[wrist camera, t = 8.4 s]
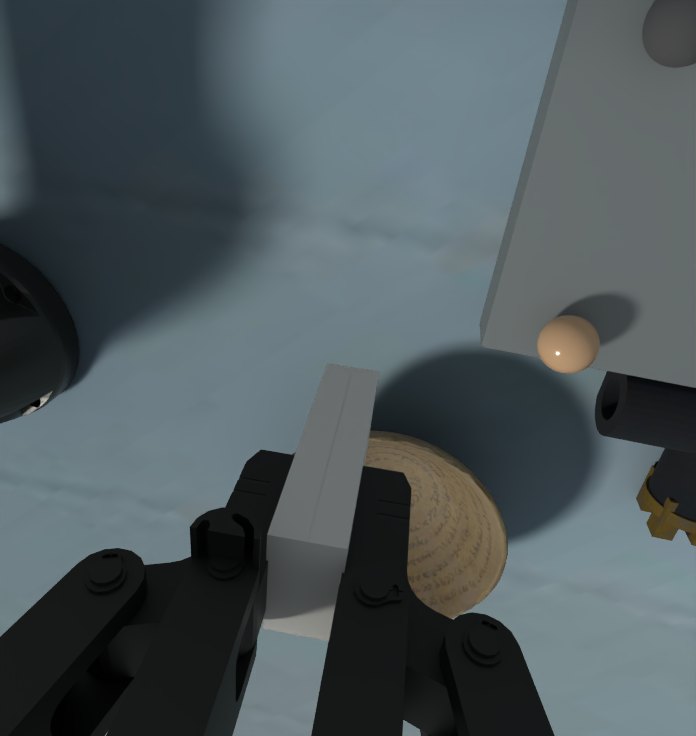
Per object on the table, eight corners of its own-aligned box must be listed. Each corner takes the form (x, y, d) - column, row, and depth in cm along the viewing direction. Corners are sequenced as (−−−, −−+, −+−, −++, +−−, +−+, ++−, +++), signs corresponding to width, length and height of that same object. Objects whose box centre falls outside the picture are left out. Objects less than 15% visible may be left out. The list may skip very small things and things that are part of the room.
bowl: (544, 514, 45) (559, 596, 38) (361, 580, 53) (347, 659, 46) (421, 338, 40) (412, 397, 33) (236, 440, 47) (198, 506, 40)
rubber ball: (622, 61, 27) (642, 62, 24) (650, -24, 25) (675, -35, 22) (695, 72, 27) (724, 73, 24) (728, -14, 25) (763, -23, 22)
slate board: (479, 324, 38) (481, 346, 35) (575, -30, 28) (589, -40, 25) (768, 378, 37) (795, 407, 34) (979, 23, 27) (1045, 18, 24)
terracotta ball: (527, 350, 35) (533, 377, 32) (543, 301, 33) (551, 324, 30) (582, 361, 35) (593, 389, 32) (601, 311, 33) (615, 336, 30)
